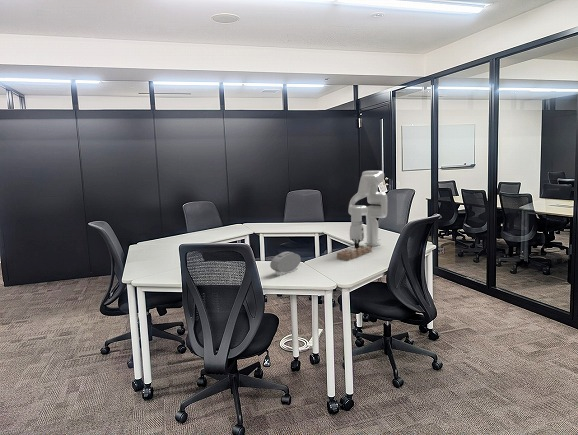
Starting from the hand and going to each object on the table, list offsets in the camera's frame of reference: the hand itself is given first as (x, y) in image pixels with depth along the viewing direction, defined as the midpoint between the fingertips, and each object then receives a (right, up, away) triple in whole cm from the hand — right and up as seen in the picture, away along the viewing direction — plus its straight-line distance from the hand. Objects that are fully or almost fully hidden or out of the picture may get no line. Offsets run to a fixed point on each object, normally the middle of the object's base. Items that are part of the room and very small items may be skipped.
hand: (356, 248), depth 312 cm
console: (-2, -5, -2) cm, 5 cm away
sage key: (+5, -1, +7) cm, 8 cm away
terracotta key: (0, -3, +1) cm, 3 cm away
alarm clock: (-51, -12, -42) cm, 67 cm away
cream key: (-5, -3, -6) cm, 8 cm away
